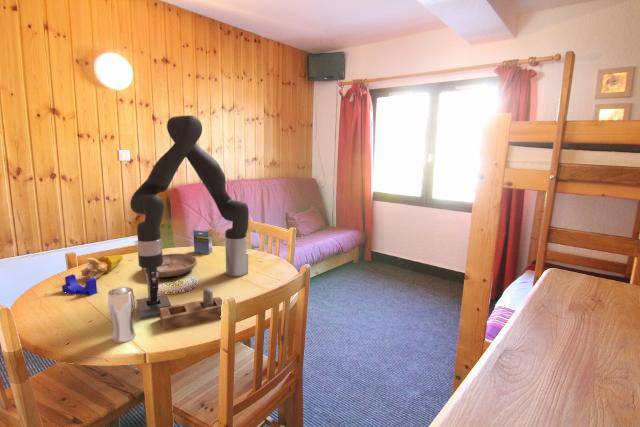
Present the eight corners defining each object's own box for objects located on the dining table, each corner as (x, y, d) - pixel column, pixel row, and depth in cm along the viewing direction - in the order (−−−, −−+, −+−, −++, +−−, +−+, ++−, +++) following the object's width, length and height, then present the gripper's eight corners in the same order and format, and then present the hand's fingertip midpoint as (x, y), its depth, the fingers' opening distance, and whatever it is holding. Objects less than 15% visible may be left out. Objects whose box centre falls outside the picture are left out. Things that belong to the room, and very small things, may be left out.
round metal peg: (158, 306, 129) (156, 278, 127) (159, 310, 126) (157, 281, 124) (148, 308, 127) (146, 279, 125) (149, 312, 125) (147, 282, 123)
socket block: (166, 301, 134) (166, 294, 133) (171, 313, 125) (171, 305, 125) (136, 307, 129) (136, 299, 128) (139, 319, 120) (138, 311, 120)
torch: (122, 271, 172) (89, 285, 147) (108, 263, 172) (72, 275, 147) (130, 256, 172) (99, 268, 147) (116, 248, 171) (81, 258, 146)
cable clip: (62, 293, 139) (61, 278, 138) (73, 288, 143) (72, 274, 142) (86, 297, 135) (85, 282, 134) (97, 293, 139) (95, 278, 138)
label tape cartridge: (212, 252, 193) (212, 229, 191) (208, 254, 189) (208, 231, 187) (197, 250, 195) (197, 228, 193) (193, 252, 191) (192, 230, 189)
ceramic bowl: (129, 276, 157) (128, 265, 156) (169, 260, 178) (169, 250, 177) (170, 285, 149) (169, 274, 148) (207, 268, 170) (207, 257, 169)
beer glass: (117, 331, 112) (113, 286, 109) (140, 331, 113) (137, 286, 110) (106, 344, 106) (102, 296, 103) (131, 343, 106) (127, 296, 103)
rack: (219, 307, 131) (219, 283, 129) (226, 316, 124) (225, 291, 122) (160, 319, 121) (158, 294, 119) (163, 330, 114) (162, 303, 112)
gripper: (165, 256, 119) (168, 304, 122) (159, 245, 130) (162, 289, 134) (139, 259, 115) (143, 309, 118) (136, 247, 127) (139, 293, 130)
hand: (153, 298), depth 126 cm, fingers closed on round metal peg, 3 cm apart
